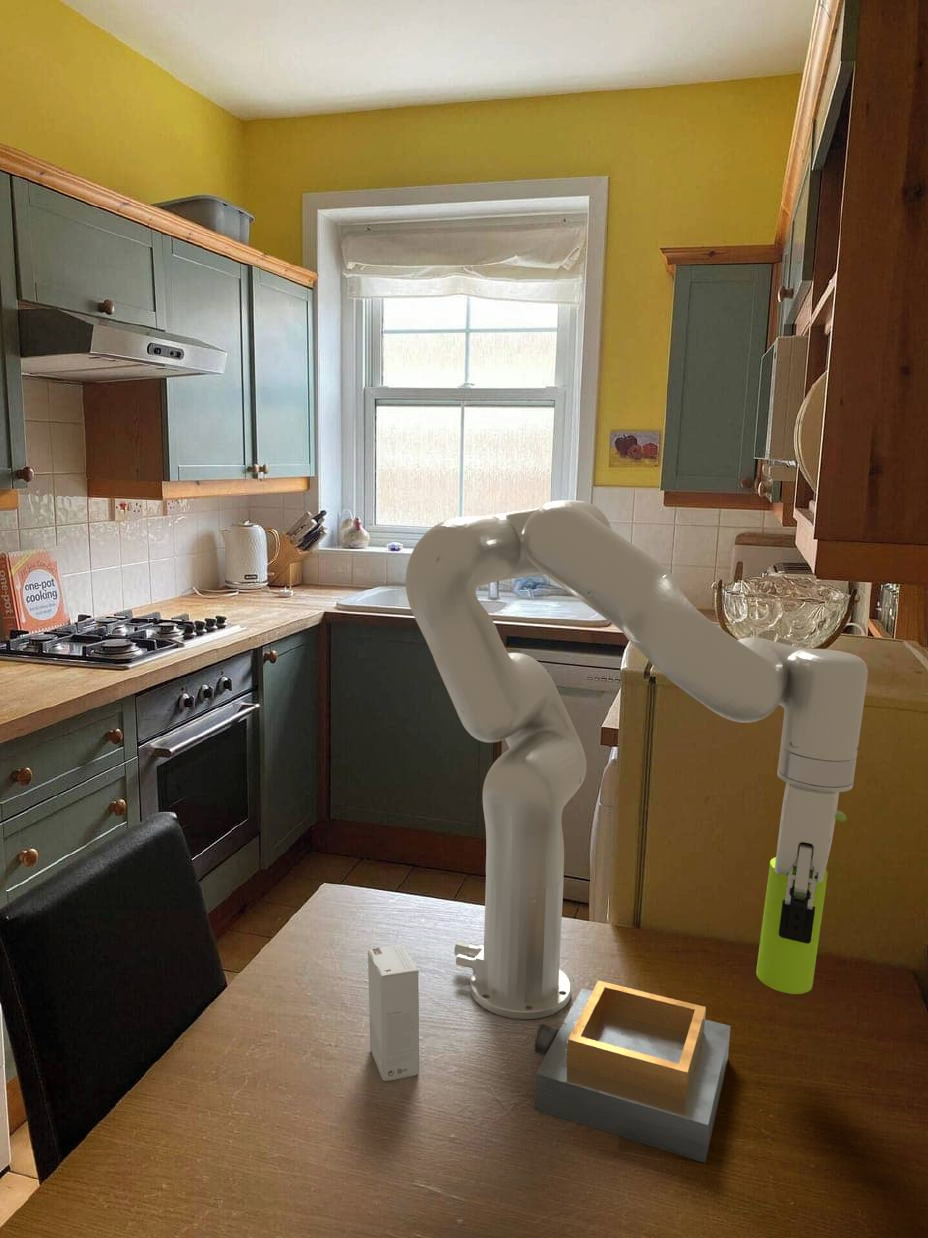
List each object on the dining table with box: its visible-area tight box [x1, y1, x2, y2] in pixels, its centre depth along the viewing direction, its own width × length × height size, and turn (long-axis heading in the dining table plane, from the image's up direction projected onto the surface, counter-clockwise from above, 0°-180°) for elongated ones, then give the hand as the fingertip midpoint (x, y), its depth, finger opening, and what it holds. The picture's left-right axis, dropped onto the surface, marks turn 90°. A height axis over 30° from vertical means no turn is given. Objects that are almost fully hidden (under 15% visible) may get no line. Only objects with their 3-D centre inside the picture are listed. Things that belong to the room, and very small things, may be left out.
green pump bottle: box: [755, 809, 848, 995], centre depth 96 cm, size 6×7×20 cm
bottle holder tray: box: [533, 980, 731, 1164], centre depth 95 cm, size 19×17×7 cm
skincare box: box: [367, 943, 420, 1082], centre depth 96 cm, size 6×4×12 cm
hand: (796, 923), depth 97 cm, fingers closed on green pump bottle, 5 cm apart
